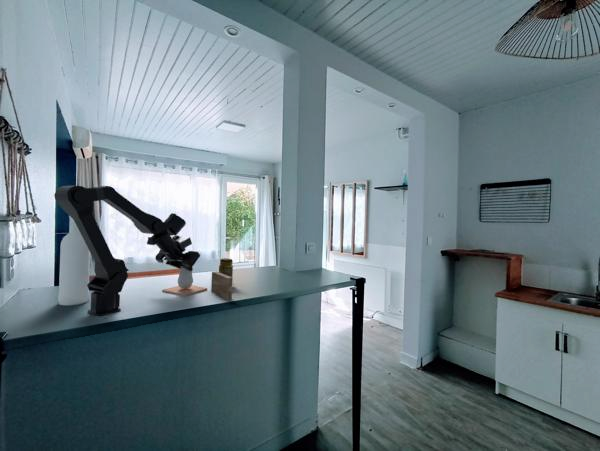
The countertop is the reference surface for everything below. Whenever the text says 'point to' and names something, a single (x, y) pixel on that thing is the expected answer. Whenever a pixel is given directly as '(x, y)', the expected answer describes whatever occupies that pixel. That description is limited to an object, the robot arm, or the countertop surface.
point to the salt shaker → (185, 278)
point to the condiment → (226, 267)
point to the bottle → (74, 268)
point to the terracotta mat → (184, 290)
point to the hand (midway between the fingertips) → (188, 270)
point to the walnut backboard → (222, 285)
